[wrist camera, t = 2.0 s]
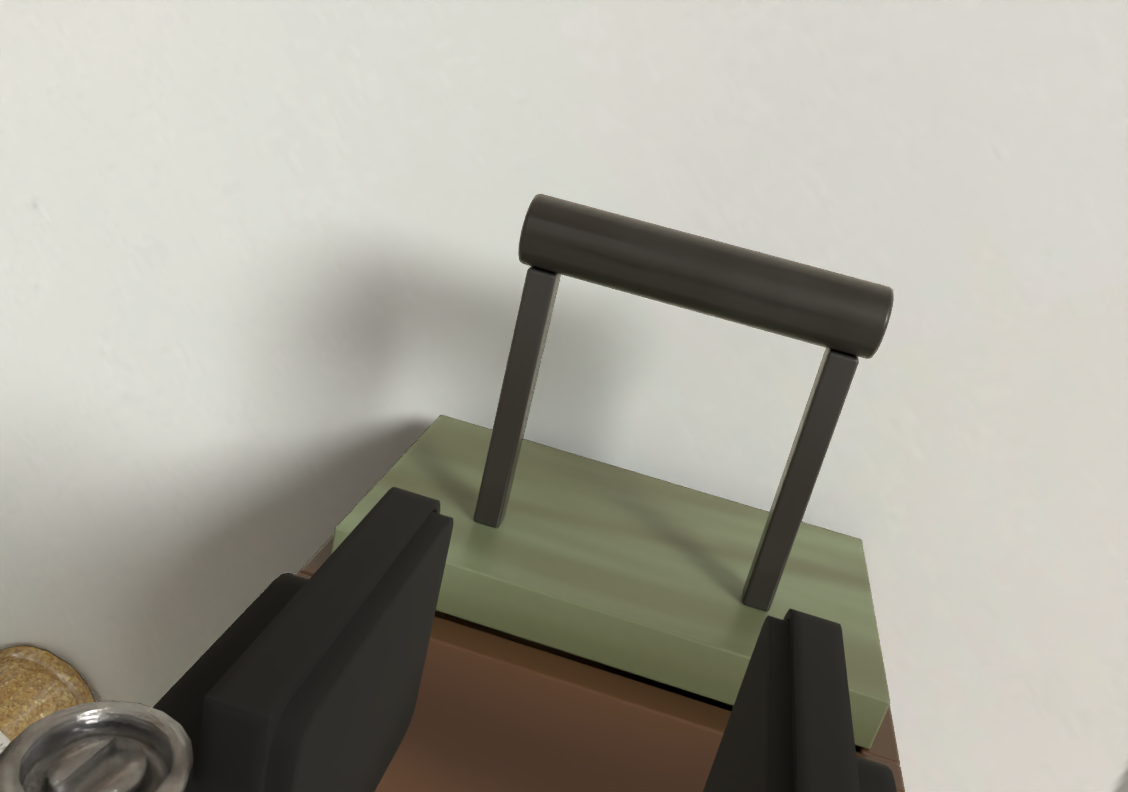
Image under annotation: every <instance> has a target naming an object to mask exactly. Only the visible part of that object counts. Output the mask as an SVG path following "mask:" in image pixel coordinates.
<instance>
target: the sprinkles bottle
mask: <svg viewBox="0 0 1128 792" xmlns="http://www.w3.org/2000/svg"><path fill="white" fill-rule="evenodd" d="M90 702H95V700H94V699H93V697H92V695H91V692H90V690H89V688H88V687H87V684H86V682H85V681H84V680H83V679H82V678H81V677H80V675H79V674H78V673H77V672H76V671H75V670H74V669H73V668H72V667H71V666H70V665H69V664H68V663H66V662H64V661H63V660H61V659H59V658H58V657H55V656H54V655H52V654H51V653H50V652H48V651H44V650H39V649H38V648H36V647H27V646H17V647H11V648H7V649H4V650H1V651H0V754H1V753H2V752H3V750H4V749H5V748H6V747H7V746H8V744H9V743H10V742H11V741H12V740H13V739H15V738H16V737H17V736H18V735H19V734H20V733H21V732H22V731H24V730H25V729H26V728H27V727H28V726H29V725H30V724H32V723H34V722H36V721H38V720H40V719H42V718H44V717H46V716H48V715H49V714H51V713H53V712H55V711H58V710H62V709H65V708H69V707H72V706H76V705H79V704H82V703H90Z"/></svg>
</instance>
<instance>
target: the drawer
mask: <svg viewBox="0 0 1128 792" xmlns="http://www.w3.org/2000/svg"><path fill="white" fill-rule="evenodd" d="M519 260H520V262H521V263H523V264H525V265H529V266H531V267H530V268H529V269H528V270H527V274H526V279H525V283H524V288H523V293H522V297H521V302H520V306H519V311H518V316H517V320H516V325H515V329H514V334H513V339H512V343H511V348H510V352H509V357H508V361H507V366H506V371H505V375H504V380H503V384H502V389H501V394H500V398H499V403H498V407H497V412H496V416H495V421H494V426H493V430H491V429H488V428H485V427H481V426H478V425H474V424H471V423H468V422H464V421H461V420H458V419H454V418H451V417H448V416H444V415H440V416H439V417H438V418H437V419H436V420H435V421H434V423H433V424H432V425H431V426H430V427H429V428H428V429H427V430H426V431H425V432H424V433H423V434H422V435H421V436H420V438H419V439H418V440H417V441H416V442H415V443H414V444H413V445H412V446H411V447H410V448H409V449H408V450H407V451H406V453H405V454H404V455H403V456H402V457H401V458H400V459H399V460H398V461H397V462H396V463H395V464H394V465H393V467H392V468H391V469H390V470H389V471H388V472H387V473H386V474H385V475H384V476H383V477H382V478H381V479H380V480H379V482H378V483H377V484H376V485H375V486H374V487H373V488H372V489H371V490H370V491H369V492H368V493H367V494H366V495H365V497H364V498H363V499H362V500H361V501H360V502H359V503H358V504H357V505H356V506H355V507H354V508H353V509H352V510H351V512H350V513H349V514H348V515H347V516H346V517H345V518H344V519H343V520H342V521H341V522H340V523H339V524H338V525H337V527H336V528H335V533H334V539H333V545H332V552H331V554H332V553H333V552H334V551H335V550H336V549H337V547H338V546H339V545H340V544H341V543H342V542H343V541H344V540H345V538H346V537H347V536H348V535H349V534H350V533H351V532H352V531H353V530H354V528H355V527H356V526H357V525H358V524H359V523H360V522H361V521H362V519H363V518H364V517H365V516H366V515H367V514H368V513H369V512H370V510H371V509H372V508H373V507H374V506H375V505H376V504H377V503H378V501H379V500H380V499H381V498H382V497H383V496H384V495H385V494H386V492H387V491H388V490H389V489H391V488H392V487H397V488H400V489H404V490H407V491H410V492H413V493H417V494H420V495H423V496H426V497H430V498H433V499H436V500H439V501H440V514H442V515H445V516H449V517H452V518H453V530H452V535H451V540H450V545H449V549H448V554H447V559H446V564H445V568H444V573H443V578H442V583H441V587H440V592H439V597H438V602H437V606H436V611H435V616H436V617H439V618H442V619H446V620H449V621H452V622H455V623H458V624H461V625H464V626H467V627H470V628H474V629H477V630H480V631H483V632H486V633H489V634H492V635H495V636H498V637H502V638H505V639H508V640H511V641H514V642H517V643H520V644H523V645H526V646H530V647H533V648H536V649H539V650H542V651H545V652H548V653H551V654H554V655H558V656H561V657H564V658H567V659H570V660H573V661H576V662H579V663H582V664H586V665H589V666H592V667H595V668H598V669H601V670H604V671H607V672H610V673H614V674H617V675H620V676H623V677H626V678H629V679H632V680H635V681H638V682H642V683H645V684H648V685H651V686H654V687H657V688H660V689H663V690H666V691H670V692H673V693H676V694H679V695H682V696H685V697H688V698H691V699H694V700H698V701H701V702H704V703H707V704H710V705H713V706H716V707H719V708H722V709H726V710H729V711H732V709H733V706H734V703H735V701H736V698H737V695H738V692H739V689H740V687H741V684H742V681H743V678H744V675H745V673H746V670H747V667H748V664H749V661H750V659H751V656H752V653H753V650H754V648H755V645H756V642H757V639H758V636H759V634H760V631H761V628H762V626H763V623H764V621H765V619H766V617H767V616H768V615H769V616H772V617H775V618H779V619H782V620H783V619H784V617H785V615H786V613H787V611H788V610H789V609H790V608H791V609H794V610H797V611H800V612H804V613H807V614H810V615H813V616H817V617H820V618H823V619H826V620H830V621H833V622H836V623H839V624H841V628H842V634H843V643H844V652H845V661H846V670H847V679H848V687H849V696H850V705H851V714H852V723H853V732H854V741H855V745H857V746H860V747H863V748H866V749H870V748H871V746H872V744H873V742H874V739H875V737H876V735H877V732H878V730H879V728H880V725H881V723H882V721H883V718H884V716H885V714H886V711H887V709H888V707H889V705H890V698H889V692H888V686H887V681H886V675H885V669H884V663H883V658H882V652H881V646H880V640H879V635H878V629H877V623H876V618H875V612H874V606H873V600H872V595H871V589H870V583H869V577H868V572H867V566H866V560H865V555H864V549H863V543H862V540H861V539H858V538H855V537H851V536H848V535H845V534H841V533H838V532H835V531H831V530H828V529H824V528H821V527H818V526H814V525H811V524H808V523H804V522H801V521H802V519H803V516H804V513H805V510H806V507H807V505H808V502H809V499H810V496H811V494H812V491H813V488H814V485H815V482H816V480H817V477H818V474H819V471H820V468H821V466H822V463H823V460H824V457H825V455H826V452H827V449H828V446H829V443H830V441H831V438H832V435H833V432H834V430H835V427H836V424H837V421H838V418H839V416H840V413H841V410H842V407H843V404H844V402H845V399H846V396H847V393H848V391H849V388H850V385H851V382H852V379H853V377H854V374H855V371H856V368H857V366H858V363H859V361H858V357H862V358H866V359H868V358H872V357H873V355H874V354H875V353H876V351H877V350H878V348H879V346H880V344H881V342H882V339H883V337H884V334H885V331H886V329H887V326H888V322H889V319H890V315H891V311H892V306H893V290H892V289H891V288H890V287H887V286H884V285H880V284H876V283H872V282H869V281H865V280H861V279H857V278H854V277H850V276H846V275H843V274H839V273H835V272H831V271H828V270H824V269H820V268H816V267H813V266H809V265H805V264H801V263H798V262H794V261H790V260H786V259H783V258H779V257H775V256H771V255H768V254H764V253H760V252H757V251H753V250H749V249H745V248H742V247H738V246H734V245H730V244H727V243H723V242H719V241H715V240H712V239H708V238H704V237H700V236H697V235H693V234H689V233H685V232H682V231H678V230H674V229H671V228H667V227H663V226H659V225H656V224H652V223H648V222H644V221H641V220H637V219H633V218H629V217H626V216H622V215H618V214H614V213H611V212H607V211H603V210H600V209H596V208H592V207H588V206H585V205H581V204H577V203H573V202H570V201H566V200H562V199H558V198H555V197H551V196H547V195H543V194H538V195H536V196H535V197H534V199H533V200H532V202H531V204H530V206H529V208H528V211H527V214H526V216H525V220H524V223H523V227H522V231H521V236H520V241H519ZM561 274H562V275H565V276H569V277H573V278H576V279H580V280H583V281H587V282H591V283H594V284H598V285H601V286H605V287H609V288H612V289H616V290H620V291H623V292H627V293H630V294H634V295H638V296H641V297H645V298H648V299H652V300H656V301H659V302H663V303H667V304H670V305H674V306H677V307H681V308H685V309H688V310H692V311H696V312H699V313H703V314H706V315H710V316H714V317H717V318H721V319H724V320H728V321H732V322H735V323H739V324H743V325H746V326H750V327H753V328H757V329H761V330H764V331H768V332H772V333H775V334H779V335H782V336H786V337H790V338H793V339H797V340H800V341H804V342H808V343H811V344H815V345H819V346H822V347H826V350H825V353H824V355H823V358H822V361H821V364H820V367H819V370H818V373H817V376H816V379H815V382H814V385H813V387H812V390H811V393H810V396H809V399H808V402H807V405H806V408H805V411H804V414H803V416H802V419H801V422H800V425H799V428H798V431H797V434H796V437H795V440H794V443H793V445H792V448H791V451H790V454H789V457H788V460H787V463H786V466H785V469H784V472H783V475H782V477H781V480H780V483H779V486H778V489H777V492H776V495H775V498H774V501H773V504H772V506H771V509H770V512H767V511H764V510H761V509H757V508H754V507H750V506H747V505H744V504H740V503H737V502H734V501H730V500H727V499H724V498H720V497H717V496H713V495H710V494H707V493H703V492H700V491H697V490H693V489H690V488H686V487H683V486H680V485H676V484H673V483H670V482H666V481H663V480H660V479H656V478H653V477H649V476H646V475H643V474H639V473H636V472H633V471H629V470H626V469H623V468H619V467H616V466H612V465H609V464H606V463H602V462H599V461H596V460H592V459H589V458H586V457H582V456H579V455H575V454H572V453H569V452H565V451H562V450H559V449H555V448H552V447H549V446H545V445H542V444H538V443H535V442H532V441H528V440H525V439H523V436H524V432H525V428H526V423H527V419H528V415H529V410H530V406H531V402H532V397H533V393H534V389H535V384H536V380H537V376H538V371H539V367H540V363H541V359H542V354H543V350H544V346H545V341H546V337H547V333H548V328H549V324H550V320H551V315H552V311H553V307H554V302H555V298H556V294H557V289H558V285H559V281H560V276H561Z"/></svg>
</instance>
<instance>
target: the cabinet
mask: <svg viewBox="0 0 1128 792" xmlns="http://www.w3.org/2000/svg"><path fill="white" fill-rule="evenodd" d="M333 539H334V534H333V535H332V536H331V538H330V539H329V540H328V541H327V542H326V543H325V544H324V545H323V546H322V547H321V548H320V549H319V551H318V552H317V553H316V554H315V555H314V556H313V557H312V558H311V559H310V560H309V561H308V562H307V564H306V565H305V566H304V567H303V568H302V569H301V570H300V572H299V573H297V574H296V575H297V576H300V577H303V578H306V579H310V578H311V577H312V575H313V574H314V573H315V572H316V571H317V570H318V569H319V568H320V567H321V565H322V564H323V563H324V562H325V561H326V560H327V559H328V558H329V556H330V555H331V552H332V545H333ZM731 712H732V711H729V710H726V709H722V708H719V707H716V706H713V705H710V704H707V703H704V702H701V701H698V700H694V699H691V698H688V697H685V696H682V695H679V694H676V693H673V692H670V691H666V690H663V689H660V688H657V687H654V686H651V685H648V684H645V683H642V682H638V681H635V680H632V679H629V678H626V677H623V676H620V675H617V674H614V673H610V672H607V671H604V670H601V669H598V668H595V667H592V666H589V665H586V664H582V663H579V662H576V661H573V660H570V659H567V658H564V657H561V656H558V655H554V654H551V653H548V652H545V651H542V650H539V649H536V648H533V647H530V646H526V645H523V644H520V643H517V642H514V641H511V640H508V639H505V638H502V637H498V636H495V635H492V634H489V633H486V632H483V631H480V630H477V629H474V628H470V627H467V626H464V625H461V624H458V623H455V622H452V621H449V620H446V619H442V618H439V617H436V616H434V621H433V625H432V630H431V635H430V640H429V645H428V649H427V654H426V659H425V664H424V668H423V673H422V678H421V683H420V687H419V692H418V697H417V702H416V706H415V710H414V713H413V716H412V719H411V722H410V725H409V727H408V730H407V732H406V734H405V737H404V739H403V740H402V742H401V744H400V746H399V748H398V750H397V751H396V753H395V755H394V757H393V759H392V761H391V762H390V764H389V766H388V768H387V770H386V772H385V773H384V775H383V777H382V779H381V781H380V783H379V784H378V786H377V788H376V790H375V792H703V790H704V787H705V784H706V781H707V779H708V776H709V773H710V770H711V767H712V765H713V762H714V759H715V756H716V753H717V751H718V748H719V745H720V742H721V740H722V737H723V734H724V731H725V728H726V726H727V723H728V720H729V717H730V714H731ZM855 750H856V756H859V757H862V758H865V759H868V760H871V761H874V762H878V763H881V764H884V765H887V766H888V767H889V768H890V769H891V770H892V773H893V776H894V780H895V784H896V790H897V792H905V790H904V784H903V778H902V772H901V767H900V761H899V755H898V750H897V744H896V738H895V732H894V726H893V721H892V715H891V709H890V705H889V707H888V709H887V711H886V714H885V716H884V718H883V721H882V723H881V725H880V728H879V730H878V732H877V735H876V737H875V739H874V742H873V744H872V746H871V748H870V749H866V748H863V747H860V746H857V745H855Z"/></svg>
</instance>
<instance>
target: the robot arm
mask: <svg viewBox="0 0 1128 792" xmlns="http://www.w3.org/2000/svg"><path fill="white" fill-rule="evenodd" d="M452 530H453V518H452V517H449V516H445V515H442V514H440V501H439V500H436V499H433V498H430V497H426V496H423V495H420V494H417V493H413V492H410V491H407V490H404V489H400V488H397V487H392V488H391V489H389V490H388V491H387V492H386V494H385V495H384V496H383V497H382V498H381V499H380V500H379V501H378V503H377V504H376V505H375V506H374V507H373V508H372V509H371V510H370V512H369V513H368V514H367V515H366V516H365V517H364V518H363V519H362V521H361V522H360V523H359V524H358V525H357V526H356V527H355V528H354V530H353V531H352V532H351V533H350V534H349V535H348V536H347V537H346V538H345V540H344V541H343V542H342V543H341V544H340V545H339V546H338V547H337V549H336V550H335V551H334V552H333V553H332V554H331V555H330V556H329V558H328V559H327V560H326V561H325V562H324V563H323V564H322V565H321V567H320V568H319V569H318V570H317V571H316V572H315V573H314V574H313V575H312V577H311V578H310V579H306V578H303V577H300V576H297V575H294V574H291V573H286V574H282V575H280V576H279V577H278V578H277V579H275V580H274V581H273V582H272V583H271V584H270V585H269V586H268V587H267V588H266V590H265V591H264V592H263V593H262V594H261V595H260V596H259V597H258V598H257V599H256V600H255V601H254V602H253V603H252V604H251V605H250V606H249V607H248V608H247V609H246V610H245V612H244V613H243V614H242V615H241V616H240V617H239V618H238V619H237V620H236V621H235V622H234V623H233V624H232V625H231V626H230V627H229V628H228V629H227V630H226V631H225V632H224V633H223V635H222V636H221V637H220V638H219V639H218V640H217V641H216V642H215V643H214V644H213V645H212V646H211V647H210V648H209V649H208V650H207V651H206V652H205V653H204V654H203V655H202V656H201V658H200V659H199V660H198V661H197V662H196V663H195V664H194V665H193V666H192V667H191V668H190V669H189V670H188V671H187V672H186V673H185V674H184V675H183V676H182V677H181V678H180V680H179V681H178V682H177V683H176V684H175V685H174V686H173V687H172V688H171V689H170V690H169V691H168V692H167V693H166V694H165V695H164V696H163V697H162V698H161V699H160V700H159V701H158V703H157V704H156V705H155V706H154V707H153V708H151V707H149V706H146V705H143V704H140V703H132V702H122V701H113V700H112V701H101V702H90V703H82V704H79V705H76V706H72V707H69V708H65V709H62V710H58V711H55V712H53V713H51V714H49V715H48V716H46V717H44V718H42V719H40V720H38V721H36V722H34V723H32V724H30V725H29V726H28V727H27V728H26V729H25V730H24V731H22V732H21V733H20V734H19V735H18V736H17V737H16V738H15V739H13V740H12V741H11V742H10V743H9V744H8V746H7V747H6V748H5V749H4V750H3V752H2V753H1V754H0V792H375V790H376V788H377V786H378V784H379V783H380V781H381V779H382V777H383V775H384V773H385V772H386V770H387V768H388V766H389V764H390V762H391V761H392V759H393V757H394V755H395V753H396V751H397V750H398V748H399V746H400V744H401V742H402V740H403V739H404V737H405V734H406V732H407V730H408V727H409V725H410V722H411V719H412V716H413V713H414V710H415V706H416V702H417V697H418V692H419V687H420V683H421V678H422V673H423V668H424V664H425V659H426V654H427V649H428V645H429V640H430V635H431V630H432V625H433V621H434V616H435V611H436V606H437V602H438V597H439V592H440V587H441V583H442V578H443V573H444V568H445V564H446V559H447V554H448V549H449V545H450V540H451V535H452ZM703 792H897V790H896V784H895V780H894V776H893V773H892V770H891V769H890V768H889V767H888V766H887V765H884V764H881V763H878V762H874V761H871V760H868V759H865V758H862V757H859V756H856V750H855V741H854V732H853V723H852V714H851V705H850V696H849V687H848V679H847V670H846V661H845V652H844V643H843V634H842V628H841V624H839V623H836V622H833V621H830V620H826V619H823V618H820V617H817V616H813V615H810V614H807V613H804V612H800V611H797V610H794V609H791V608H790V609H789V610H788V611H787V613H786V615H785V617H784V619H783V620H782V619H779V618H775V617H772V616H769V615H768V616H767V617H766V619H765V621H764V623H763V626H762V628H761V631H760V634H759V636H758V639H757V642H756V645H755V648H754V650H753V653H752V656H751V659H750V661H749V664H748V667H747V670H746V673H745V675H744V678H743V681H742V684H741V687H740V689H739V692H738V695H737V698H736V701H735V703H734V706H733V709H732V712H731V714H730V717H729V720H728V723H727V726H726V728H725V731H724V734H723V737H722V740H721V742H720V745H719V748H718V751H717V753H716V756H715V759H714V762H713V765H712V767H711V770H710V773H709V776H708V779H707V781H706V784H705V787H704V790H703Z"/></svg>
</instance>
